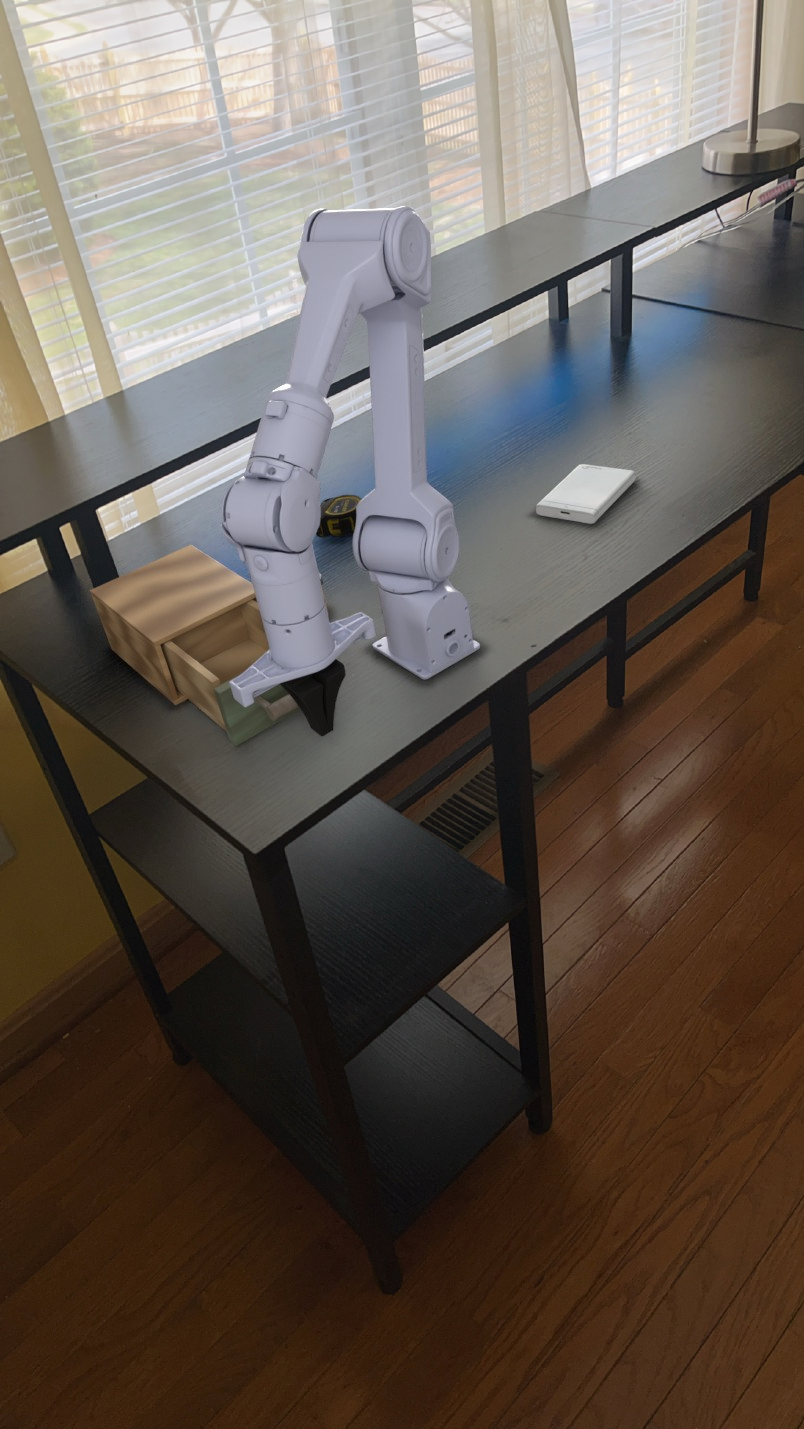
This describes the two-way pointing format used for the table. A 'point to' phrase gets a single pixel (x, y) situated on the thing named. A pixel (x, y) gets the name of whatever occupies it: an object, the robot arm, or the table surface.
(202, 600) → the cabinet
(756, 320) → the table surface
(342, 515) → the tape measure
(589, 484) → the hard drive
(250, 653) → the drawer
